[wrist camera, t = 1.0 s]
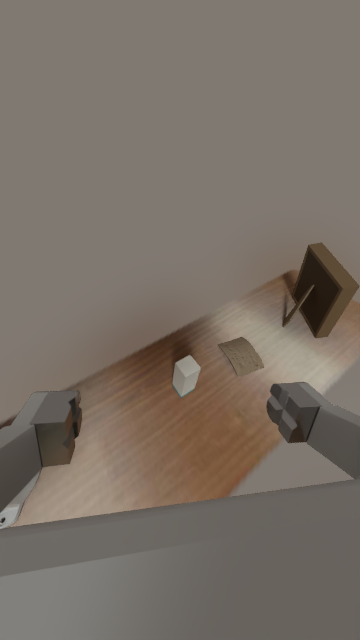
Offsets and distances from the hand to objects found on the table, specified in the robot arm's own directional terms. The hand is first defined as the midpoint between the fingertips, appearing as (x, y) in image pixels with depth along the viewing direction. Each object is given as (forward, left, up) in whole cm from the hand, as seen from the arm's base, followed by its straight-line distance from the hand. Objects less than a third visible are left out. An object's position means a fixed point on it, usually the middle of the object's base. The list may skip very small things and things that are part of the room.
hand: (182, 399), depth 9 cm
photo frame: (+71, +17, -52) cm, 90 cm away
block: (+17, +16, -52) cm, 57 cm away
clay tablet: (+39, +15, -53) cm, 67 cm away
